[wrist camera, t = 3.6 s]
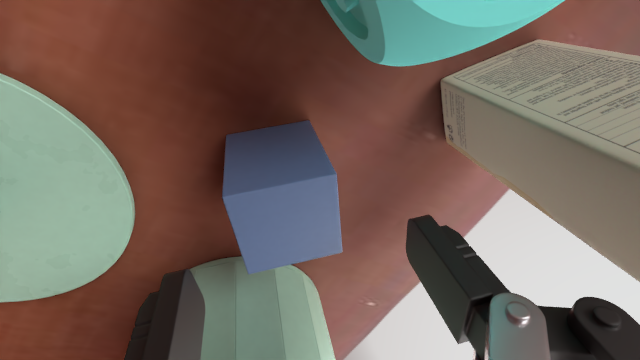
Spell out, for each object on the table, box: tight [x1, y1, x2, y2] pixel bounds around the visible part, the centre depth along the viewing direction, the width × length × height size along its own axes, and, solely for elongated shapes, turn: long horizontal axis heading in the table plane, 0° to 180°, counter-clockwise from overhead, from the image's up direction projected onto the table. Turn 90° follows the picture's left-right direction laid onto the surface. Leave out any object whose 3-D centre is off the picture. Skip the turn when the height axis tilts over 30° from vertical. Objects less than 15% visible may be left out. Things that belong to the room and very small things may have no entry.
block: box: [222, 120, 342, 274], centre depth 15 cm, size 4×4×6 cm
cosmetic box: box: [440, 40, 640, 282], centre depth 13 cm, size 6×4×12 cm
